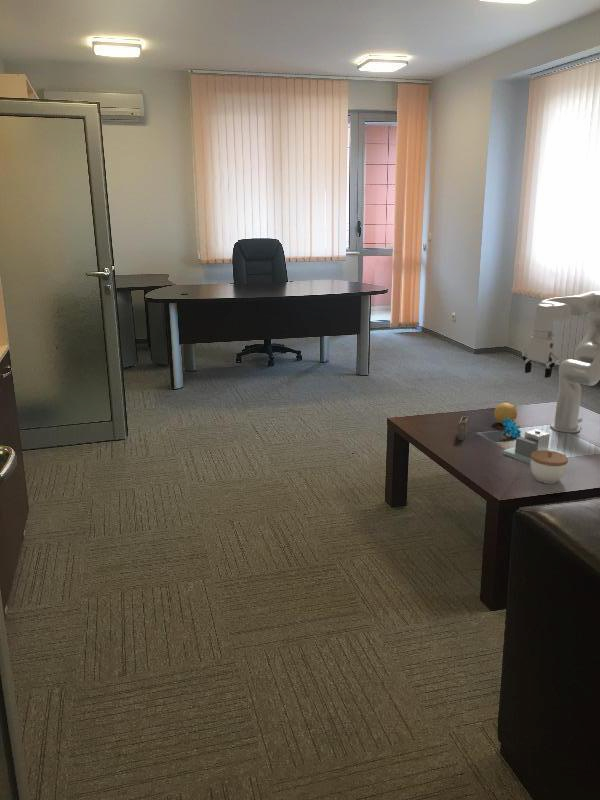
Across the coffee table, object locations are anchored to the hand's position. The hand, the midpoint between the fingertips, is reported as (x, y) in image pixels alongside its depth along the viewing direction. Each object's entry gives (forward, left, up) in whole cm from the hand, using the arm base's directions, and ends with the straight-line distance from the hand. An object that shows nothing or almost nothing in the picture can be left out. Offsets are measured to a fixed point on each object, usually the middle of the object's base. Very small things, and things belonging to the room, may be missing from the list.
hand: (537, 374), depth 270 cm
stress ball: (-7, -19, -28) cm, 35 cm away
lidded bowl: (+33, +32, -28) cm, 54 cm away
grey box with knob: (+15, +14, -27) cm, 34 cm away
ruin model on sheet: (+22, -18, -29) cm, 41 cm away
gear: (+4, -6, -29) cm, 29 cm away
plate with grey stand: (+16, +14, -28) cm, 35 cm away
